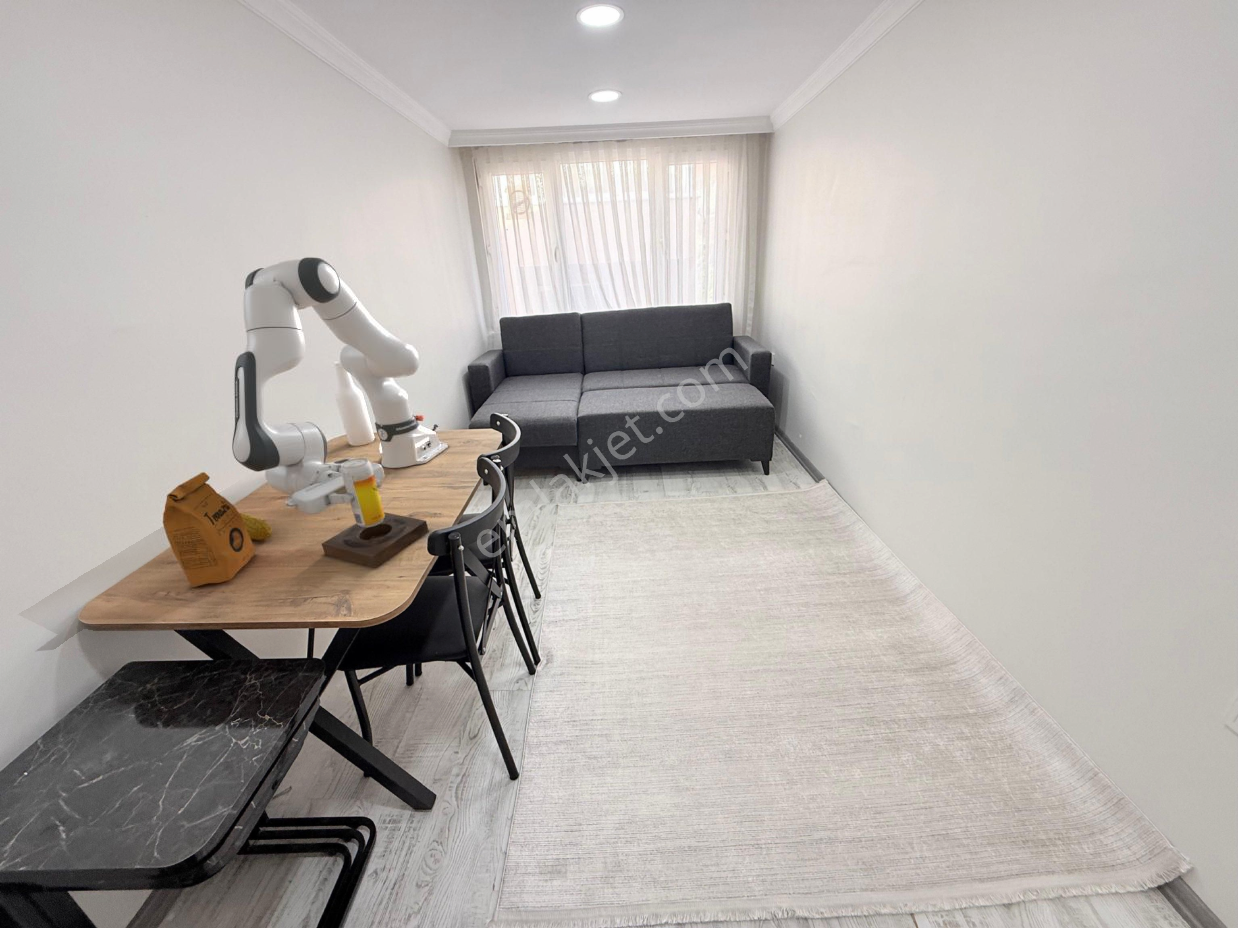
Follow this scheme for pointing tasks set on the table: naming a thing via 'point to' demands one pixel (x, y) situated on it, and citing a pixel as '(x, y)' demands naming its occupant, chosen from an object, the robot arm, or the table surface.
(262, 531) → the food
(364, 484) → the beer can
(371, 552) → the holder
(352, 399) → the alcohol
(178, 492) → the coffee package
